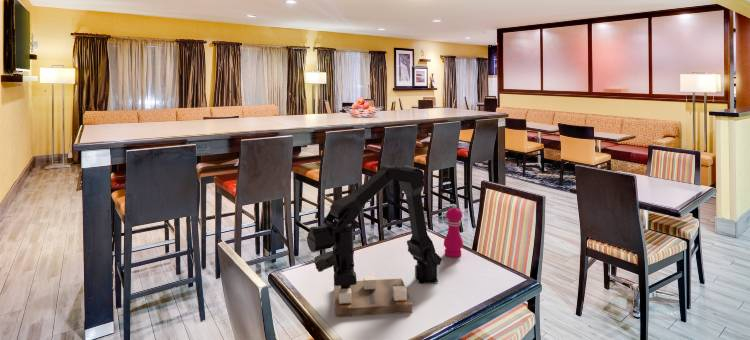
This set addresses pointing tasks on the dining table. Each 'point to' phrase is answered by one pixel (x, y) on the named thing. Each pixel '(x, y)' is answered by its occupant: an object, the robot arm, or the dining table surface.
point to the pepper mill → (453, 233)
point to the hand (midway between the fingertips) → (344, 294)
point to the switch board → (372, 300)
